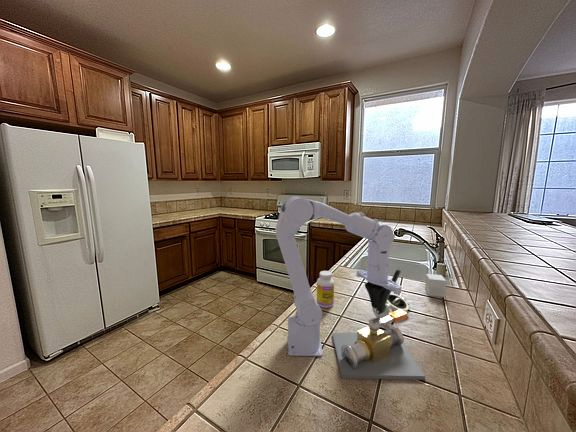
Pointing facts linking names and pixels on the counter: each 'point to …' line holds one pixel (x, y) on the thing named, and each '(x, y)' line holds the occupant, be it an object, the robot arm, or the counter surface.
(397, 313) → the lever
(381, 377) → the mounting board
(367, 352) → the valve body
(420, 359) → the counter surface
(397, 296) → the butterfly valve
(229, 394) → the counter surface
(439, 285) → the product box
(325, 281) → the supplement bottle
